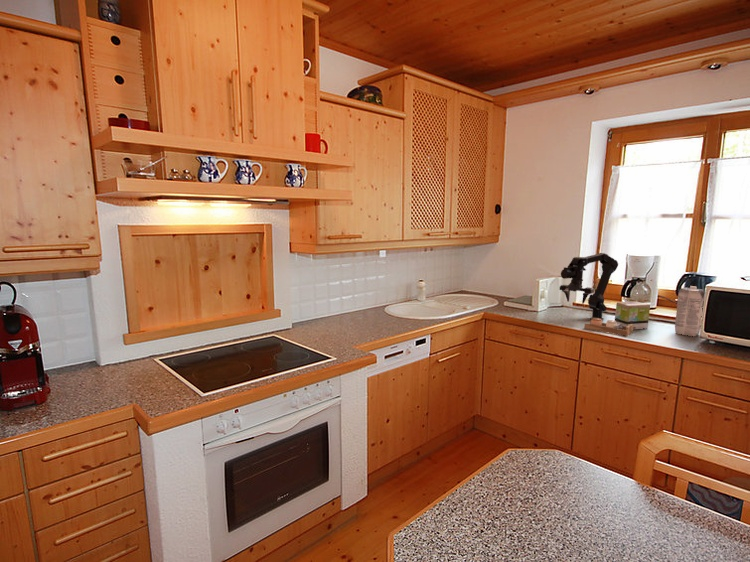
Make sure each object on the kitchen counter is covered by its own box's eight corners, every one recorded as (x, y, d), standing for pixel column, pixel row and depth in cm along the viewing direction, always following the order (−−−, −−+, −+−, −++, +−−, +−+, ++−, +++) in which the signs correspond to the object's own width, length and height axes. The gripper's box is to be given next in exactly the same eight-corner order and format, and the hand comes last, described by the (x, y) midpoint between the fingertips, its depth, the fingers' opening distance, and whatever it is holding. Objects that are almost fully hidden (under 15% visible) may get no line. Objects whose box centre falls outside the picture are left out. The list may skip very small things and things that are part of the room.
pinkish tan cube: (592, 326, 249) (593, 317, 248) (602, 328, 245) (603, 318, 244) (589, 328, 245) (590, 318, 244) (599, 330, 241) (600, 320, 240)
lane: (590, 325, 252) (590, 317, 251) (632, 332, 236) (633, 324, 235) (584, 328, 245) (584, 320, 244) (627, 336, 229) (628, 327, 228)
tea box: (627, 330, 240) (630, 305, 238) (613, 326, 250) (615, 302, 247) (648, 328, 244) (650, 304, 242) (633, 324, 254) (635, 300, 251)
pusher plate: (618, 330, 239) (619, 323, 239) (623, 331, 238) (624, 324, 237) (615, 333, 235) (615, 325, 234) (620, 334, 233) (620, 326, 232)
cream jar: (607, 329, 243) (608, 319, 242) (617, 331, 239) (618, 321, 238) (604, 331, 239) (604, 321, 238) (614, 333, 235) (615, 322, 234)
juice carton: (695, 337, 226) (701, 288, 222) (672, 333, 234) (677, 286, 230) (700, 335, 231) (706, 286, 227) (678, 330, 239) (684, 284, 235)
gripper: (556, 277, 258) (554, 302, 260) (588, 281, 245) (586, 307, 247) (563, 275, 266) (562, 299, 268) (595, 278, 253) (593, 304, 255)
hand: (575, 302), depth 259 cm, fingers open, 8 cm apart
